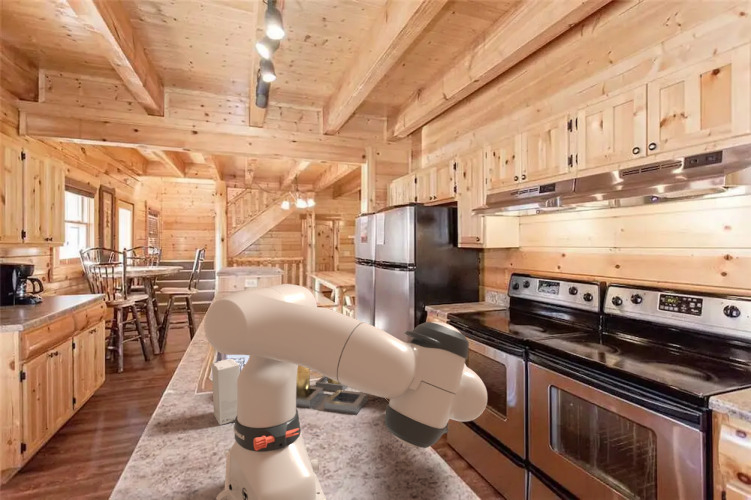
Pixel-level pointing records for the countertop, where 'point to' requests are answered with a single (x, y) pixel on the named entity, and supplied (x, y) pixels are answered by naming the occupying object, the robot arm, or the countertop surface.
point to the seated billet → (303, 382)
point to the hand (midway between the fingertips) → (367, 368)
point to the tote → (329, 385)
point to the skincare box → (225, 390)
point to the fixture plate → (333, 401)
